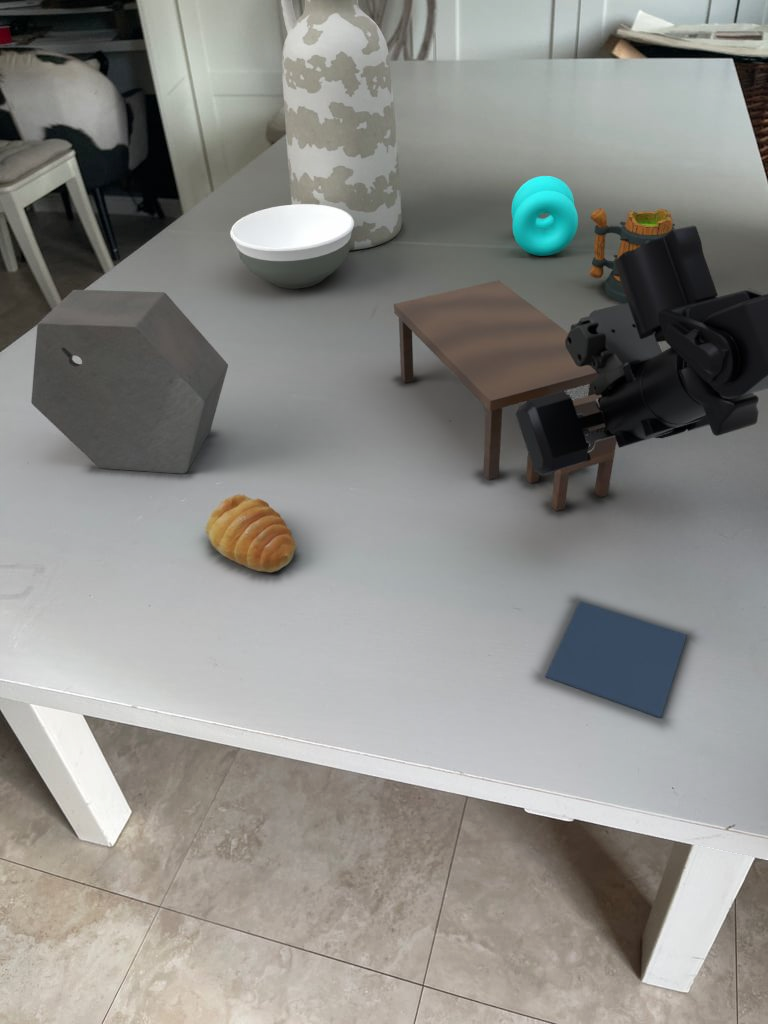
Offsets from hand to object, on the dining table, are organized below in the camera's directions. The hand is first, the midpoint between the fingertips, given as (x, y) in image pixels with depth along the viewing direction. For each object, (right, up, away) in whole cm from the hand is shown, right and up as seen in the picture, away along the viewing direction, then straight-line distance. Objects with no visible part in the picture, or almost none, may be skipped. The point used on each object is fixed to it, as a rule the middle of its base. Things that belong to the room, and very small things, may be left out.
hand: (579, 434), depth 77 cm
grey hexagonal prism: (-45, -1, +14) cm, 47 cm away
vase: (-26, +42, +64) cm, 80 cm away
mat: (0, -19, -12) cm, 23 cm away
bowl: (-32, +29, +49) cm, 66 cm away
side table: (-6, +4, +17) cm, 19 cm away
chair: (0, -5, +5) cm, 7 cm away
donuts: (+7, +36, +54) cm, 65 cm away
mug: (+17, +25, +40) cm, 50 cm away
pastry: (-31, -11, +1) cm, 33 cm away
